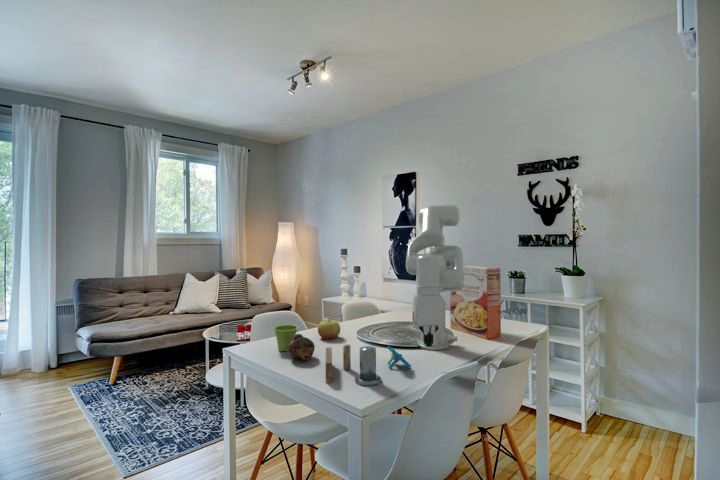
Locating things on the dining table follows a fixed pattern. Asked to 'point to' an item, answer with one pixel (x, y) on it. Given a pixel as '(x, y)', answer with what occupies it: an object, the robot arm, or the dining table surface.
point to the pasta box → (477, 303)
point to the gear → (396, 358)
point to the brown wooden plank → (328, 365)
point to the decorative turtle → (301, 347)
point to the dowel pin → (346, 357)
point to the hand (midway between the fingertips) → (428, 345)
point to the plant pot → (285, 336)
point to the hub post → (367, 367)
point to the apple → (329, 329)
